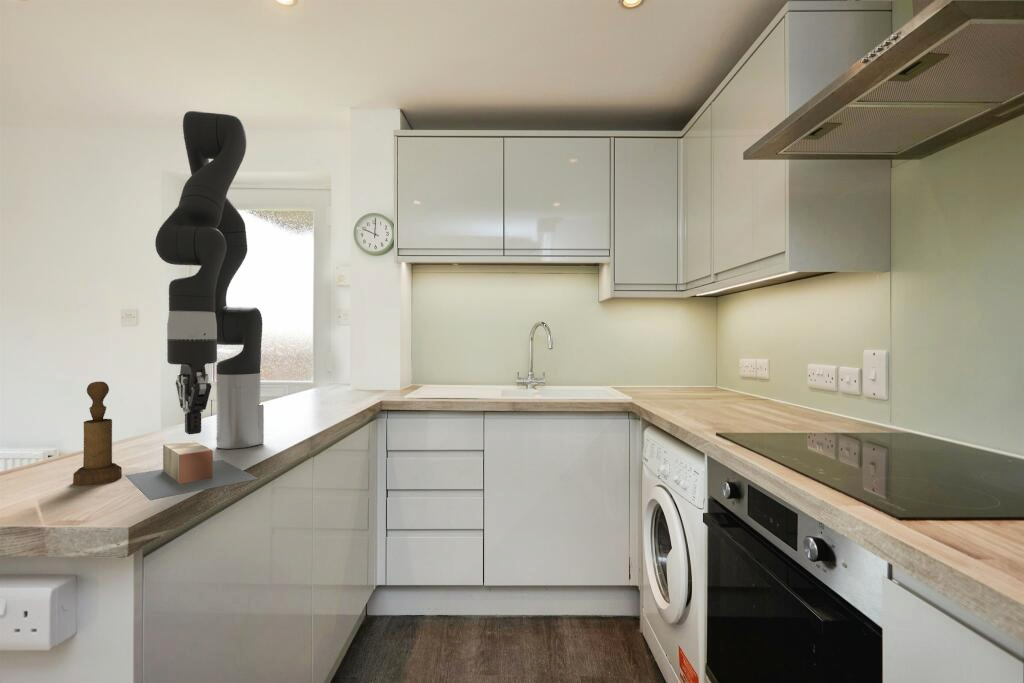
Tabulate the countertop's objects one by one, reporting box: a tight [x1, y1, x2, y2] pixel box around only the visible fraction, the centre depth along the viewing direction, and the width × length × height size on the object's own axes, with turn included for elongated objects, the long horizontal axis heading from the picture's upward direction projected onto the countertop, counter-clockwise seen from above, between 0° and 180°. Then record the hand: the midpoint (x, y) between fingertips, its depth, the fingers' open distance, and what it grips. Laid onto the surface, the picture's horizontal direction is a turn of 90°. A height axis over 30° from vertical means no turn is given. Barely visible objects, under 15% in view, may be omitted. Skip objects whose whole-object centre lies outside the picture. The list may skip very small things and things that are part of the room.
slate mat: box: [125, 459, 259, 501], centre depth 89 cm, size 16×20×1 cm
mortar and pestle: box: [72, 381, 123, 487], centre depth 87 cm, size 7×6×18 cm
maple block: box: [162, 440, 214, 484], centre depth 91 cm, size 5×5×12 cm
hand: (193, 433), depth 89 cm, fingers closed
